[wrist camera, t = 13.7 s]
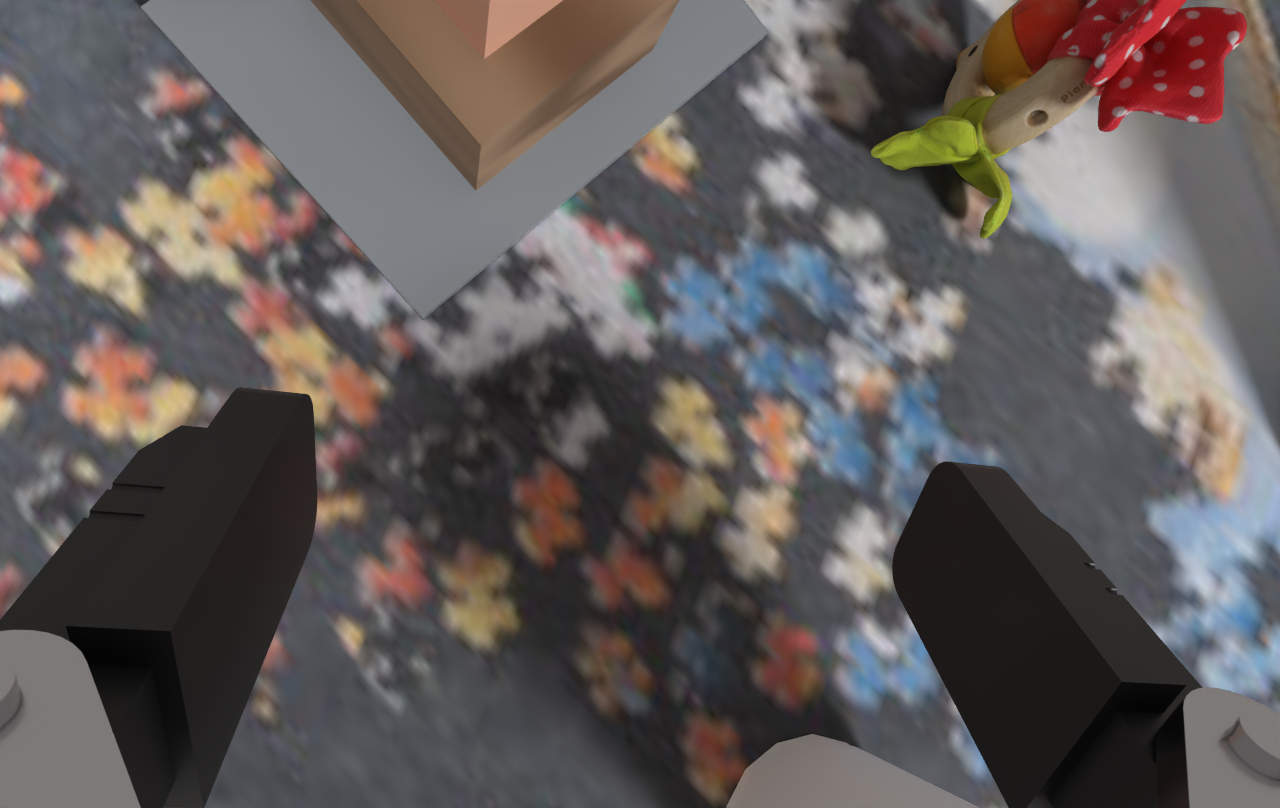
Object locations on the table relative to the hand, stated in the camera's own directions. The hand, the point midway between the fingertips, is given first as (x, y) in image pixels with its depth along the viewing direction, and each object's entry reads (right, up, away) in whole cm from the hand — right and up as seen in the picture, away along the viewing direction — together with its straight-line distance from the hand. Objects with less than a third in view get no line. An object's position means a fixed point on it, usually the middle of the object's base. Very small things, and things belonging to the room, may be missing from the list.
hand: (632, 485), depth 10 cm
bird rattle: (+12, +12, +20) cm, 26 cm away
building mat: (-5, +14, +15) cm, 21 cm away
